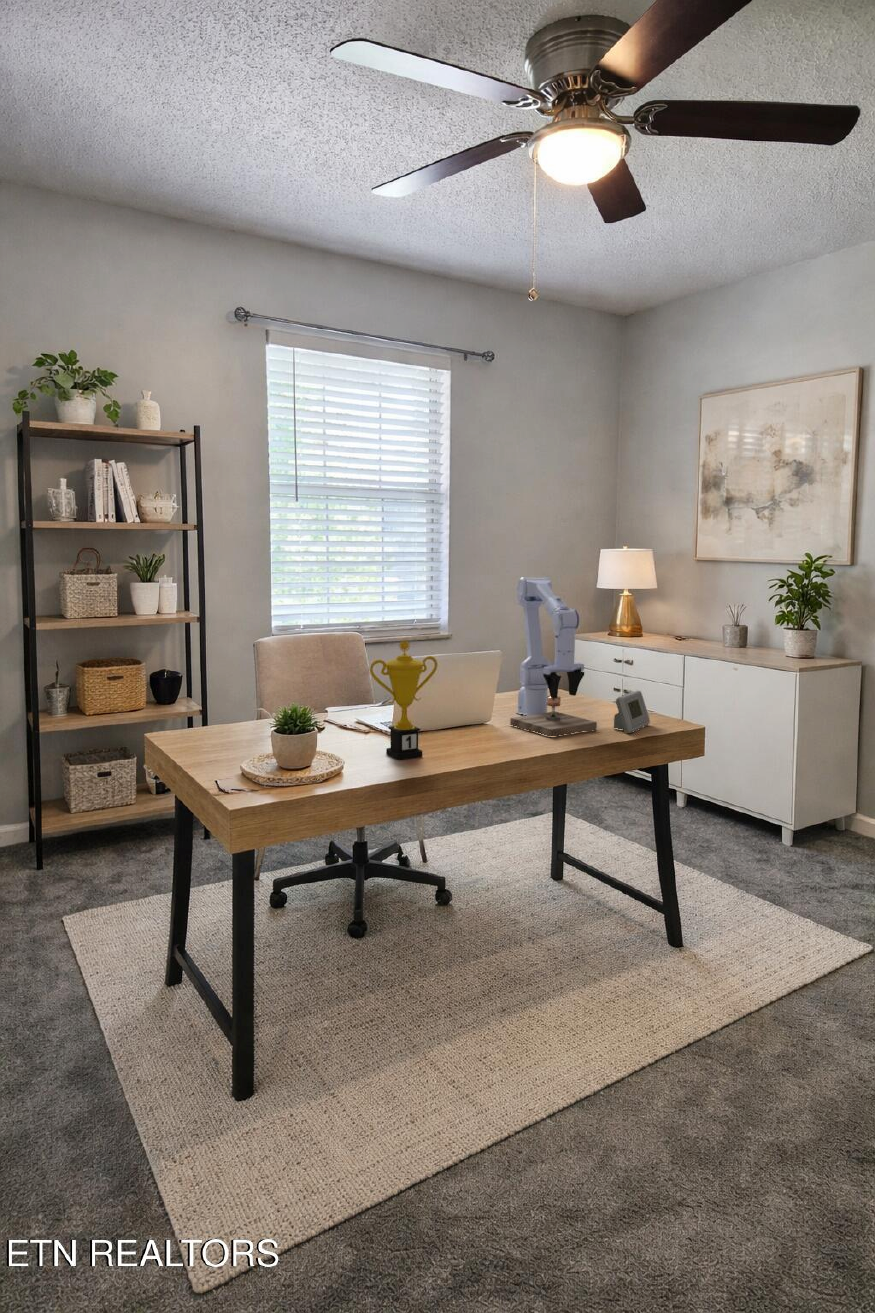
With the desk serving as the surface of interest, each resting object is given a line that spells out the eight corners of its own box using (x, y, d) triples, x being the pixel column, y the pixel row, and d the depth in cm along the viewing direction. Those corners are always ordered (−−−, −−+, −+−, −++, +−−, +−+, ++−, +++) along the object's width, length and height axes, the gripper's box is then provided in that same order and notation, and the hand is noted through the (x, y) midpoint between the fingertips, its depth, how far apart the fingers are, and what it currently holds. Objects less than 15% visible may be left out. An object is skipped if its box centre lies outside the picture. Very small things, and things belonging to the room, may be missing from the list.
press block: (510, 726, 242) (510, 714, 242) (554, 719, 252) (555, 708, 252) (550, 738, 227) (551, 726, 227) (596, 730, 237) (596, 718, 237)
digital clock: (629, 735, 232) (630, 699, 230) (602, 730, 238) (604, 694, 237) (659, 727, 243) (660, 692, 241) (633, 722, 249) (634, 688, 248)
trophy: (378, 764, 198) (378, 644, 194) (362, 755, 207) (361, 639, 202) (445, 755, 208) (447, 640, 204) (427, 747, 216) (428, 636, 212)
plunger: (543, 715, 240) (544, 696, 239) (553, 714, 242) (554, 695, 241) (552, 718, 236) (553, 698, 236) (562, 716, 239) (563, 697, 238)
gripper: (555, 654, 228) (554, 701, 230) (592, 650, 236) (590, 696, 238) (539, 651, 234) (537, 697, 236) (575, 647, 242) (573, 692, 244)
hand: (563, 696), depth 237 cm, fingers open, 7 cm apart
